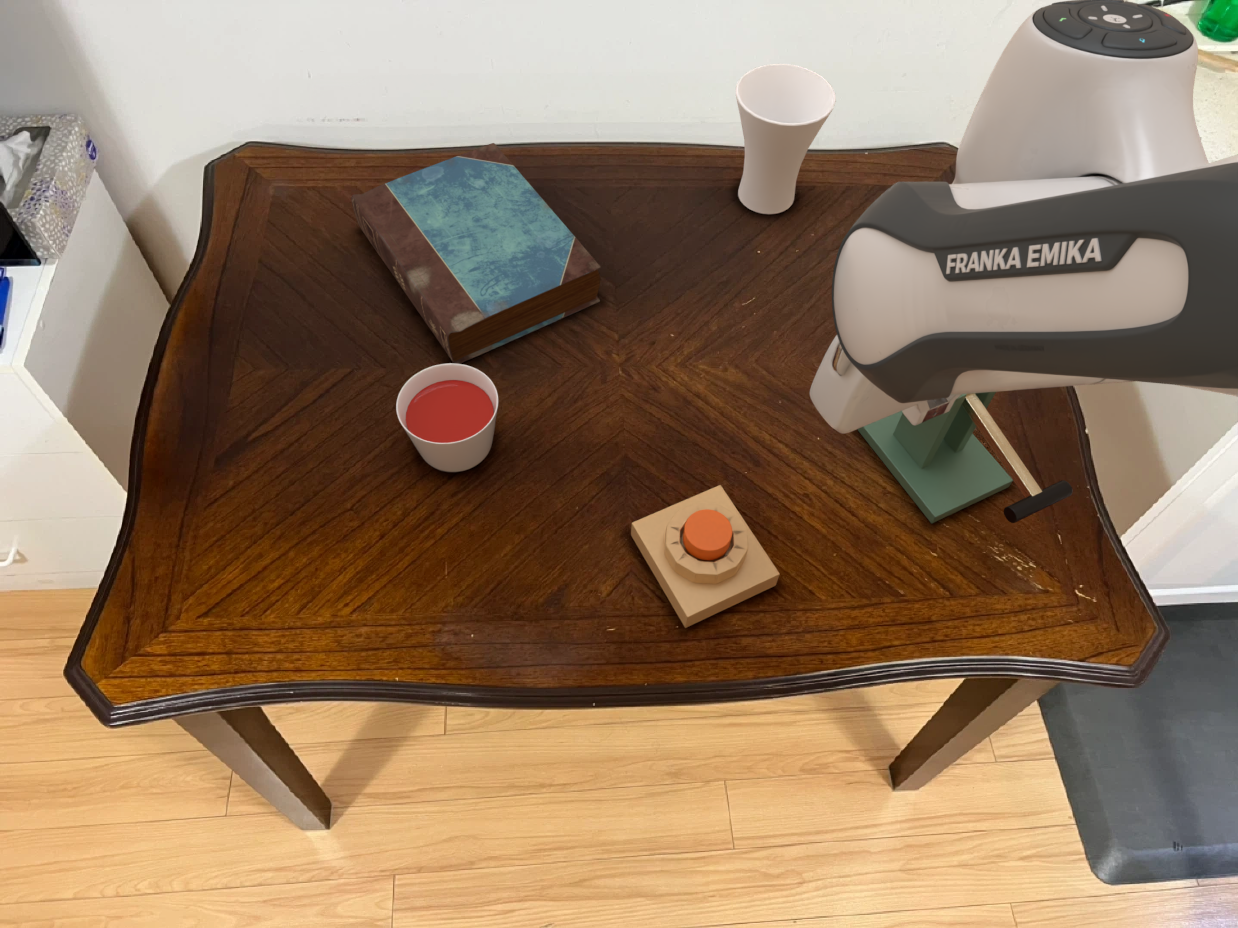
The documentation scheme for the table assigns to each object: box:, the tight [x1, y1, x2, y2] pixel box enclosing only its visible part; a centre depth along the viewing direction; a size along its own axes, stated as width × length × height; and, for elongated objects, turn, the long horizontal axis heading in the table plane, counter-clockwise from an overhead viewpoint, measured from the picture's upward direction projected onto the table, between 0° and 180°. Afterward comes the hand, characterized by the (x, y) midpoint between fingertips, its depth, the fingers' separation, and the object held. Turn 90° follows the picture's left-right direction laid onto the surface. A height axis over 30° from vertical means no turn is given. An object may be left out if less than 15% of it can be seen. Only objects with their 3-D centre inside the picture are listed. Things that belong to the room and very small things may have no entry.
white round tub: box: [395, 362, 499, 473], centre depth 87 cm, size 9×9×6 cm
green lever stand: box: [856, 392, 1014, 524], centre depth 86 cm, size 14×9×12 cm, turn 27°
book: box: [350, 142, 602, 364], centre depth 101 cm, size 23×18×5 cm
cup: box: [735, 63, 837, 215], centre depth 104 cm, size 10×10×14 cm
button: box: [683, 509, 732, 560], centre depth 80 cm, size 4×4×2 cm
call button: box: [630, 484, 781, 629], centre depth 82 cm, size 10×9×4 cm
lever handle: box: [962, 393, 1073, 524], centre depth 80 cm, size 14×6×2 cm, turn 27°
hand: (923, 412), depth 68 cm, fingers closed
